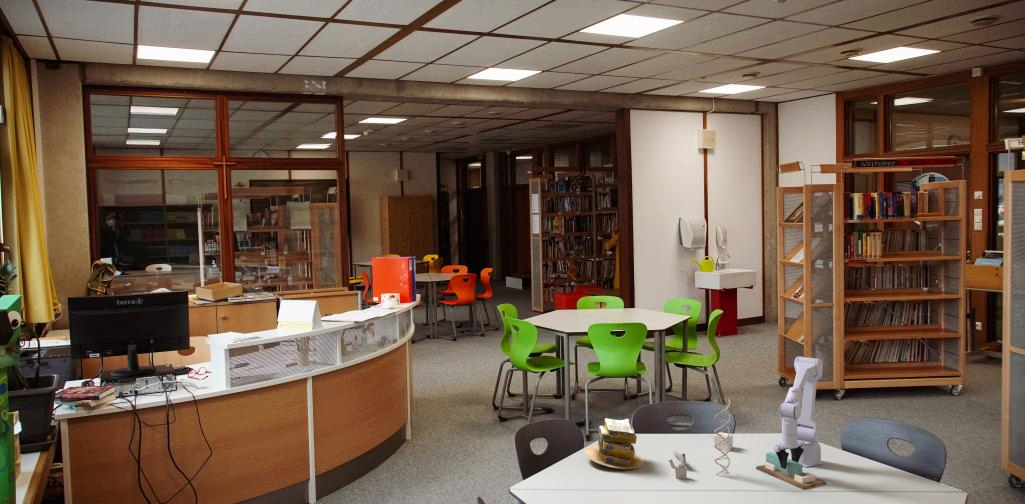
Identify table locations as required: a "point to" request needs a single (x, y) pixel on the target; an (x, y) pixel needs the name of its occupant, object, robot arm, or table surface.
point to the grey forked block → (679, 470)
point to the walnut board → (791, 478)
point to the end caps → (798, 478)
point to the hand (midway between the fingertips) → (789, 466)
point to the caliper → (681, 457)
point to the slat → (791, 467)
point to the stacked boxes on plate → (615, 446)
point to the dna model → (723, 437)
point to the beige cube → (724, 446)
